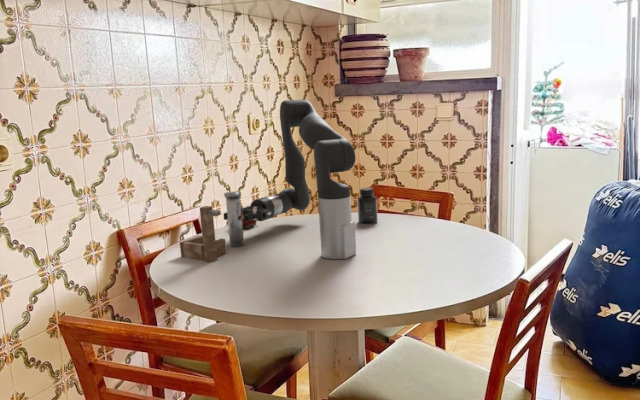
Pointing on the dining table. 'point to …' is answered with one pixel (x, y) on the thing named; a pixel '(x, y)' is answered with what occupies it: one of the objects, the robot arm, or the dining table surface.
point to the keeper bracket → (204, 239)
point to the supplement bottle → (367, 206)
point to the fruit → (248, 223)
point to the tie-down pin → (234, 218)
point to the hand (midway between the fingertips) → (234, 217)
